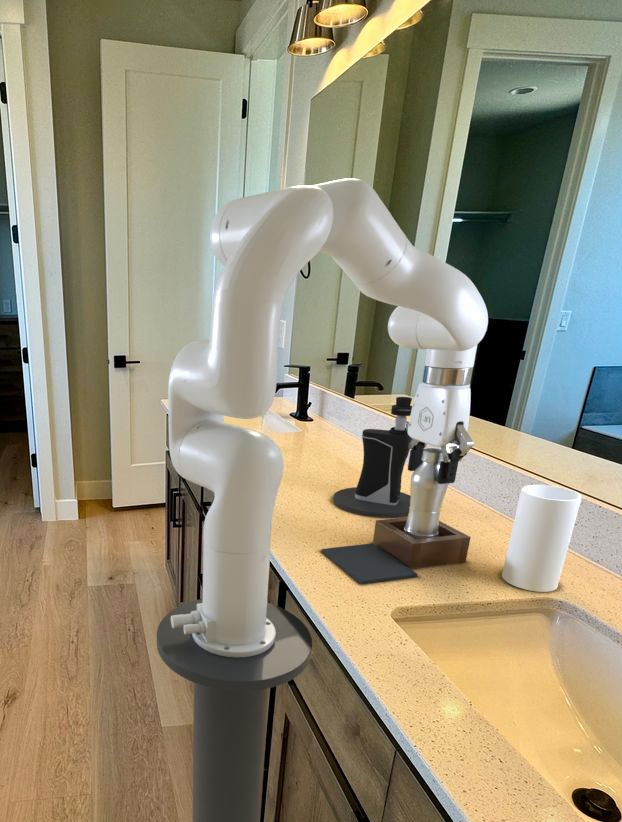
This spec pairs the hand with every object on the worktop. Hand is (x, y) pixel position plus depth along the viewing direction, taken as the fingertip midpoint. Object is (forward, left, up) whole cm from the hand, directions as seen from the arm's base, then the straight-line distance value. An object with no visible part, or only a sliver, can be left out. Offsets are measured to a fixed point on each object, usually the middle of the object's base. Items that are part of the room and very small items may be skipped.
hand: (430, 475), depth 104 cm
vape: (+8, +27, -15) cm, 32 cm away
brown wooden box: (0, 0, -15) cm, 15 cm away
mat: (-12, -2, -15) cm, 20 cm away
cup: (+11, -15, -15) cm, 24 cm away
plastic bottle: (0, 0, -15) cm, 15 cm away
